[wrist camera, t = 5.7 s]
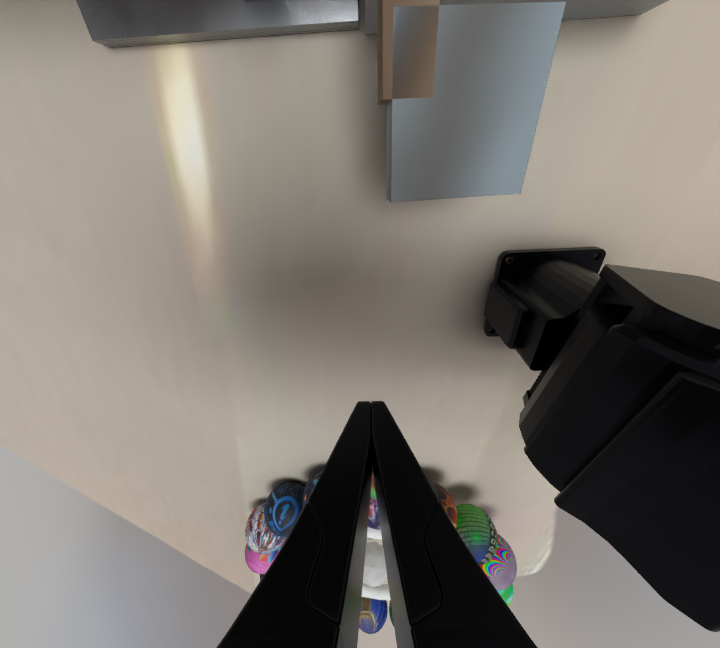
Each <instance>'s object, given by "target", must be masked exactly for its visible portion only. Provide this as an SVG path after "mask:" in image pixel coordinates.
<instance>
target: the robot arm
mask: <svg viewBox="0 0 720 648" xmlns="http://www.w3.org/2000/svg"><path fill="white" fill-rule="evenodd" d="M596 253H597V255H596V257H594V258H593V256H594V255H595V254H596ZM605 255H606V252H605V251H604V250H603V249H601V248H598V247H588V248H564V249H540V250H517V251H506V252H504V253H502V255H501V256H500V258H499V262H498V266H497V271H496V275H495V280H494V282H493V283H492V284H491V285H490V290H489V294H488V299H487V303H486V308H485V313H484V316H485V317H486V320H485V324H484V332H485V334H486V335H487V336H500V338H501V339H502V340H503V342H504V343H505V344H506V346H507V347H508V348H509V349H515V350H516V351H517V352H518V354H519V355H520V356H521V357H522V359H523V360H524V361H525V363H526V364H527V365H528V367H529V368H530V369H531V370H533V371H540V370H542V371H541V373H540V375H539V376H538V378H537V379H536V381H535V383H534V384H533V386H532V387H531V389H530V390H528V391H527V392H526V393H525V395H524V397H523V400H524V406H525V407H524V408H523V410H522V412H521V413H520V421H519V428H520V430H521V433H522V436H523V439H524V442H525V444H526V446H525V447H524V451H525V454H526V455H527V456H528V458H529V459H530V461H531V462H532V464H533V465H534V466H535V468H536V469H537V470H538V471H539V472H540V473H541V474H542V475H543V476H544V477H545V478H546V480H547V481H548V482H549V483H550V484H551V485H553V486H554V487H555V488H556V489H557V490H559V491H560V493H559V494H558V495H557V496H556V497H555V499H554V502H555V504H556V505H557V506H558V507H559V508H561V509H563V510H565V511H566V512H568V513H569V514H571V515H573V516H574V517H576V518H578V519H579V520H581V521H582V522H584V523H585V524H587V525H588V526H589V527H590V528H592V529H593V530H594V531H595V532H596V533H598V534H599V535H600V536H601V537H603V538H604V539H605V540H606V541H608V542H609V543H610V544H611V545H612V546H613V547H614V548H615V549H616V550H617V551H618V552H619V553H620V554H621V555H622V556H623V557H624V558H625V559H626V560H627V561H628V562H629V563H630V564H631V565H632V566H633V568H635V570H636V571H637V572H638V573H639V574H641V576H642V577H643V578H644V579H645V580H646V581H647V582H648V583H649V584H650V585H651V587H652V588H653V589H654V590H655V591H656V592H657V593H658V594H659V595H660V596H661V597H662V598H663V599H664V600H666V601H667V602H668V603H670V604H671V605H672V606H674V607H675V608H677V609H678V610H679V611H681V612H682V613H684V614H685V615H687V616H688V617H689V618H691V619H692V620H694V621H695V622H697V623H698V624H699V625H701V626H703V627H704V628H705V629H707V630H710V631H713V632H718V631H720V282H717V281H714V280H710V279H707V278H704V277H700V276H694V275H686V274H679V273H671V272H663V271H655V270H648V269H640V268H632V267H625V266H617V265H609V264H605V266H604V268H603V269H602V271H601V272H600V274H598V272H599V270H600V267H601V265H602V263H603V260H604V258H605ZM510 256H511V259H510V260H509V261H508V262H506V259H507V258H508V257H510ZM491 328H493V330H491V331H489V330H490V329H491ZM372 461H373V477H374V485H375V492H376V499H377V506H378V513H379V520H380V528H381V535H382V542H383V549H384V556H385V563H386V570H387V578H388V585H389V592H390V599H391V606H392V613H393V620H394V628H395V635H396V641H397V648H537V647H536V645H535V644H534V643H533V641H532V640H531V638H530V637H529V636H528V635H527V633H526V631H525V630H524V629H523V627H522V626H521V624H520V623H519V622H518V620H517V619H516V617H515V616H514V614H513V613H512V612H511V610H510V609H509V607H508V606H507V604H506V603H505V601H504V600H503V599H502V597H501V596H500V594H499V593H498V591H497V590H496V589H495V587H494V586H493V584H492V583H491V581H490V580H489V578H488V577H487V576H486V574H485V573H484V571H483V570H482V568H481V567H480V566H479V564H478V563H477V561H476V560H475V558H474V557H473V555H472V554H471V552H470V550H469V549H468V547H467V546H466V544H465V543H464V541H463V540H462V538H461V537H460V535H459V533H458V532H457V530H456V528H455V527H454V525H453V523H452V522H451V520H450V518H449V516H448V515H447V513H446V511H445V509H444V508H443V506H442V504H441V503H440V502H439V499H438V497H437V495H436V494H435V492H434V490H433V488H432V486H431V485H430V483H429V481H428V479H427V477H426V476H425V474H424V472H423V470H422V469H421V467H420V465H419V463H418V461H417V460H416V458H415V456H414V454H413V452H412V451H411V449H410V447H409V445H408V444H407V442H406V440H405V438H404V436H403V435H402V433H401V431H400V429H399V427H398V426H397V424H396V422H395V420H394V418H393V417H392V415H391V413H390V411H389V410H388V408H387V406H386V404H385V403H384V402H383V401H372V402H371V403H370V402H369V401H360V402H358V403H357V404H356V406H355V408H354V410H353V412H352V414H351V416H350V418H349V420H348V422H347V424H346V426H345V428H344V430H343V432H342V434H341V436H340V437H339V439H338V441H337V443H336V445H335V447H334V449H333V451H332V453H331V455H330V457H329V459H328V461H327V463H326V465H325V467H324V469H323V471H322V473H321V475H320V477H319V479H318V481H317V483H316V484H315V486H314V488H313V490H312V492H311V494H310V496H309V498H308V503H306V504H305V506H304V508H303V510H302V512H301V514H300V516H299V517H298V519H297V521H296V523H295V525H294V527H293V528H292V530H291V532H290V534H289V536H288V538H287V539H286V541H285V543H284V544H283V546H282V548H281V549H280V551H279V552H278V554H277V556H276V557H275V559H274V561H273V562H272V564H271V565H270V567H269V569H268V570H267V572H266V573H265V575H264V576H263V578H262V579H261V581H260V583H259V584H258V586H257V587H256V589H255V590H254V592H253V593H252V595H251V597H250V598H249V600H248V601H247V603H246V604H245V606H244V608H243V609H242V611H241V612H240V614H239V615H238V617H237V618H236V620H235V621H234V623H233V624H232V626H231V628H230V629H229V630H228V632H227V634H226V635H225V636H224V638H223V639H222V641H221V642H220V643H219V645H218V646H217V648H357V641H358V630H359V619H360V607H361V596H362V585H363V574H364V563H365V552H366V541H367V530H368V519H369V508H370V497H371V486H372Z"/></svg>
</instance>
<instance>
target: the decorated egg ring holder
mask: <svg viewBox="0 0 720 648" xmlns="http://www.w3.org/2000/svg"><path fill="white" fill-rule="evenodd" d="M321 473H322V471H320V472H318V473H316V474H315V475H313V476H312V477H311V478H310V480H309V481H308V482H307V484H306V486H305V487H304V486H303V485H301V484H299V483H296V482H286V483H283V484H281V485H279V486H278V487H276V488H275V489H274V490H273V491H272V493H271V494H270V495H269V497H268V499H267V501H266V502H264V503H262V504H261V505H259V506H258V507H257V508H255V509H254V511H253V512H252V513H251V515H250V516H249V518H248V521H247V523H246V529H245V537H246V541H247V544H246V548H245V559H246V563H247V565H248V567H249V568H250V569H251V570H252V571H253V572H255V573H258V574H260V580H261V579H262V578H263V576H264V575H265V573H266V572H267V570H268V569H269V567H270V565H271V564H272V562H273V561H274V559H275V557H276V556H277V554H278V552H279V551H280V549H281V548H282V546H283V544H284V543H285V541H286V538H287V537H288V536H289V534H290V532H291V530H292V528H293V527H294V525H295V523H296V521H297V519H298V517H299V516H300V514H301V512H302V510H303V508H304V506H305V504H306V503H308V498H309V496H310V494H311V492H312V490H313V488H314V486H315V484H316V483H317V481H318V479H319V477H320V475H321ZM429 483H430V485H431V486H432V488H433V490H434V492H435V494H436V495H437V497H438V499H439V502H440V503H441V504H442V506H443V508H444V509H445V511H446V513H447V515H448V516H449V518H450V520H451V522H452V523H453V525H454V527H455V528H456V530H457V532H458V533H459V535H460V537H461V538H462V540H463V541H464V543H465V544H466V546H467V547H468V549H469V550H470V552H471V554H472V555H473V557H474V558H475V560H476V561H477V563H478V564H479V566H480V567H481V568H482V570H483V571H484V573H485V574H486V576H487V577H488V578H489V580H490V581H491V583H492V584H493V586H494V587H495V589H496V590H497V591H498V593H499V594H500V596H501V597H502V599H503V600H504V601H505V603H506V604H507V606H509V605H510V603H511V601H512V598H513V584H512V583H513V582H514V579H515V577H516V572H517V565H516V559H515V556H514V553H513V551H512V549H511V547H510V546H509V544H508V543H507V542H506V541H505V539H504V538H502V537H501V536H500V535H499V534H497V532H496V529H495V526H494V524H493V522H492V521H491V519H490V518H489V516H488V515H487V514H486V513H485V512H484V511H483V510H481V509H480V508H478V507H476V506H474V505H471V504H460V505H457V506H455V503H454V501H453V499H452V497H451V495H450V494H449V493H448V492H447V491H446V490H445V489H444V488H443V487H442V486H440V485H438V484H436V483H433V482H429ZM367 537H368V538H374V539H380V540H382V535H381V528H380V520H379V513H378V506H377V499H376V492H375V485H374V477H373V470H372V486H371V497H370V508H369V519H368V530H367ZM386 579H387V570H386V563H385V556H384V549H383V546H382V545H380V544H379V543H377V542H375V541H374V542H369V543H366V552H365V563H364V574H363V585H362V596H361V607H360V619H359V628H360V629H361V630H362V631H364V632H365V633H368V634H373V633H376V632H378V631H379V630H380V629H381V628H382V627H383V625H384V623H385V621H386V618H387V602H386V600H390V606H389V612H390V618H391V622H392V624H393V626H394V620H393V613H392V606H391V599H390V592H389V585H388V584H383V583H384V582H385V580H386Z"/></svg>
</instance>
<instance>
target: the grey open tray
mask: <svg viewBox="0 0 720 648" xmlns="http://www.w3.org/2000/svg"><path fill="white" fill-rule="evenodd" d="M666 1H668V0H440V4H439V5H466V4H500V3H535V2H566V4H565V8H564V13H563V17H562V20H573V19H586V18H600V17H614V16H627V15H641V14H643V13H645V12H647V11H649V10H651V9H652V8H654V7H656V6H658V5H660V4H662V3H664V2H666ZM364 2H365V35H370V34H378V31H377V0H364Z"/></svg>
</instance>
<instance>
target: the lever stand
mask: <svg viewBox="0 0 720 648" xmlns="http://www.w3.org/2000/svg"><path fill="white" fill-rule="evenodd" d="M76 1H77V3H78V6H79V8H80V10H81V13H82V15H83V18H84V20H85V23H86V25H87V28H88V30H89V33H90V35H91V38H92V40H93V41H95V42H97V43H100V44H102V45H105V46H107V47H109V48H114V47H127V46H141V45H154V44H168V43H181V42H194V41H208V40H221V39H235V38H248V37H261V36H275V35H288V34H302V33H315V32H328V31H342V30H355V29H359V22H358V0H76Z"/></svg>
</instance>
